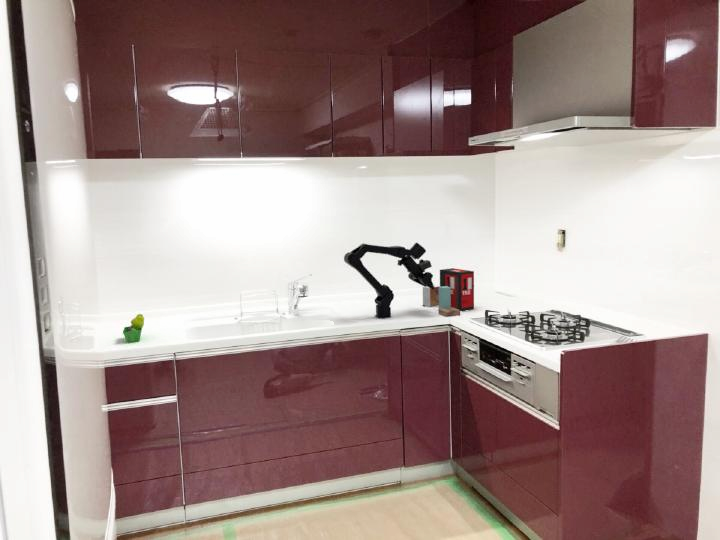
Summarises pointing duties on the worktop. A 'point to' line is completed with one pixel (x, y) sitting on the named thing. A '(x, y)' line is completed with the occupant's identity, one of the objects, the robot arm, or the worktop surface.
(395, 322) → the worktop surface
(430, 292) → the small box
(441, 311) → the walnut slab
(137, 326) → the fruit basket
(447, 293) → the teal block
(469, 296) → the cleaning product box
